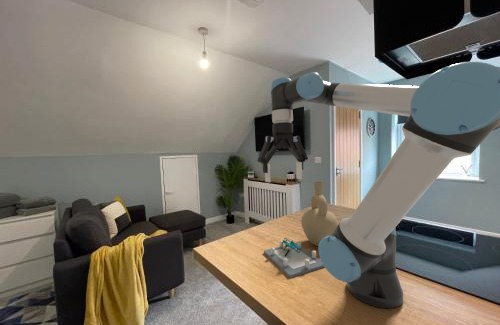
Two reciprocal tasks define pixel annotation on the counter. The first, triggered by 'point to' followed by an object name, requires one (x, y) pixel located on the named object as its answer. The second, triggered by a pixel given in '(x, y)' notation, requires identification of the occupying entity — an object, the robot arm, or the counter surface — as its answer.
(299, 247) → the stick construction toy
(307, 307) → the counter surface
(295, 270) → the pin tray
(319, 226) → the vase
